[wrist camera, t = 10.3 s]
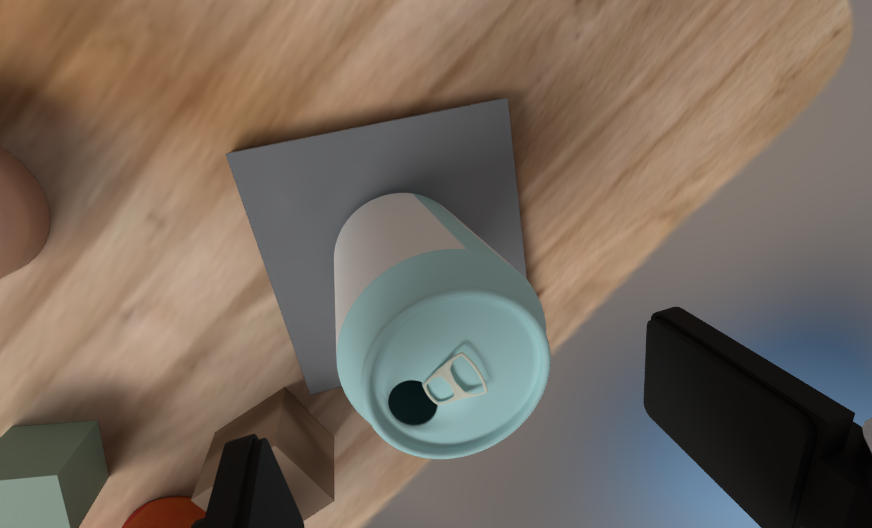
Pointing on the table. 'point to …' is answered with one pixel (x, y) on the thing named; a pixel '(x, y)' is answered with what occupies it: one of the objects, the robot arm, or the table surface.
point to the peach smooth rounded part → (20, 215)
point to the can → (434, 330)
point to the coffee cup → (166, 514)
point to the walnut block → (281, 451)
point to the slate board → (357, 185)
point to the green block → (50, 474)
